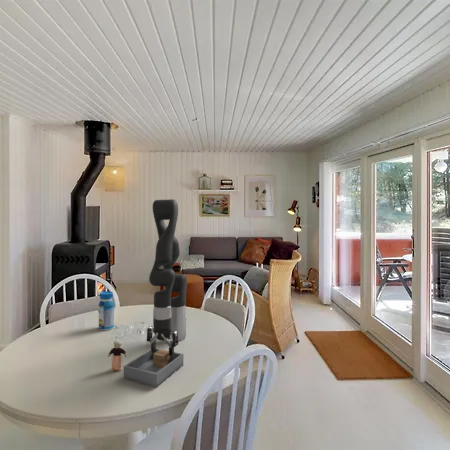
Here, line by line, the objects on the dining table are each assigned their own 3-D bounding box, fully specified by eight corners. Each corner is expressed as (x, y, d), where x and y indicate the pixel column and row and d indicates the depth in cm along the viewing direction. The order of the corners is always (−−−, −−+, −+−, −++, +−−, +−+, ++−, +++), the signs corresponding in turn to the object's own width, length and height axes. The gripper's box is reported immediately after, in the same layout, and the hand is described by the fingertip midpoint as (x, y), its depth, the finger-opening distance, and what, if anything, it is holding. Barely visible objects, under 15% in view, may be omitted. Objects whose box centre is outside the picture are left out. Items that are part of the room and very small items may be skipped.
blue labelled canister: (111, 331, 182) (111, 294, 182) (95, 330, 183) (95, 294, 182) (116, 325, 191) (116, 290, 190) (101, 325, 191) (101, 290, 190)
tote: (153, 358, 150) (153, 347, 150) (183, 365, 144) (183, 354, 144) (123, 378, 132) (123, 366, 132) (156, 387, 126) (156, 374, 126)
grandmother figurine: (107, 372, 137) (107, 342, 136) (107, 368, 141) (107, 338, 140) (127, 370, 139) (127, 340, 138) (127, 366, 143) (127, 337, 142)
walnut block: (160, 360, 146) (160, 349, 146) (169, 363, 144) (170, 351, 144) (153, 365, 142) (153, 353, 141) (163, 368, 140) (163, 356, 139)
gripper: (181, 315, 143) (181, 353, 144) (153, 311, 148) (153, 347, 149) (172, 321, 136) (171, 360, 137) (142, 316, 141) (142, 353, 142)
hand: (162, 353), depth 143 cm, fingers open, 8 cm apart
